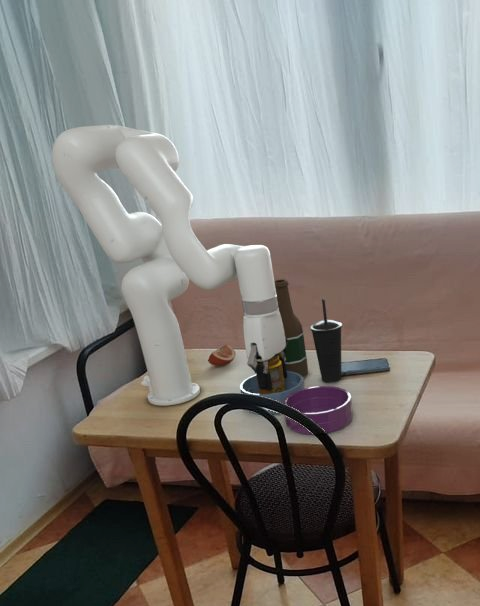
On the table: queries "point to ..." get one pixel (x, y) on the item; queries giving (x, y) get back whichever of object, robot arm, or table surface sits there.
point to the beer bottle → (291, 331)
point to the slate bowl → (291, 386)
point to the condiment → (274, 375)
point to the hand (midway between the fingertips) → (273, 382)
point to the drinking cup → (328, 347)
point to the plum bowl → (321, 408)
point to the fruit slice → (222, 356)
